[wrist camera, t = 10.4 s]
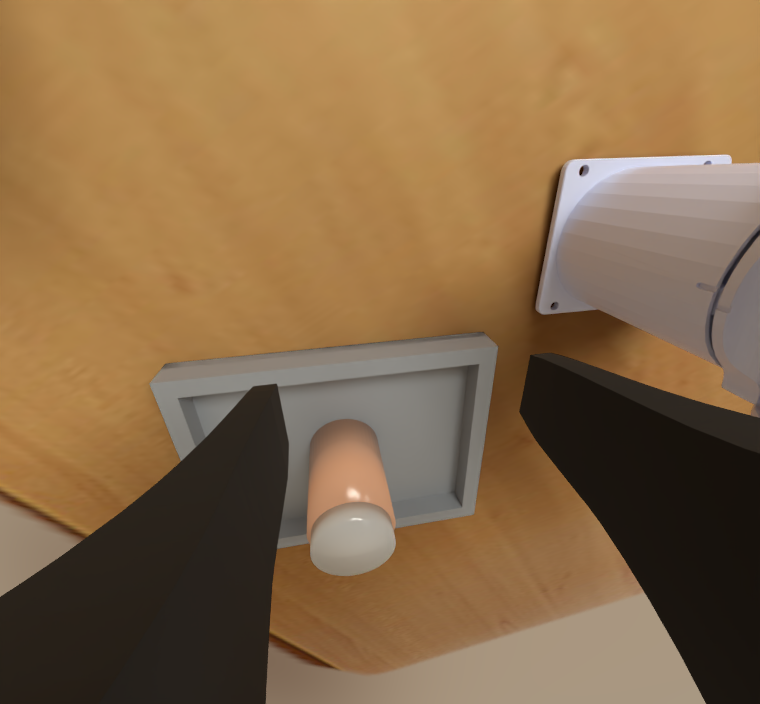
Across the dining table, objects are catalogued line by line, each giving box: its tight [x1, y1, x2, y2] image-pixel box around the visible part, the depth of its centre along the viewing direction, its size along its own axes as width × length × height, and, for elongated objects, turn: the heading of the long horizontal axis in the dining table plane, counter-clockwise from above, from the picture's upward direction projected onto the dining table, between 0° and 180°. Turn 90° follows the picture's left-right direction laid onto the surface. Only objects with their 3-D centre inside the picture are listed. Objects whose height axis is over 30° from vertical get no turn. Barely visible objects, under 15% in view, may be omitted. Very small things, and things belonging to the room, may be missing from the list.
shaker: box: [307, 419, 396, 576], centre depth 19 cm, size 4×4×7 cm
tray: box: [149, 332, 498, 549], centre depth 22 cm, size 18×14×2 cm
